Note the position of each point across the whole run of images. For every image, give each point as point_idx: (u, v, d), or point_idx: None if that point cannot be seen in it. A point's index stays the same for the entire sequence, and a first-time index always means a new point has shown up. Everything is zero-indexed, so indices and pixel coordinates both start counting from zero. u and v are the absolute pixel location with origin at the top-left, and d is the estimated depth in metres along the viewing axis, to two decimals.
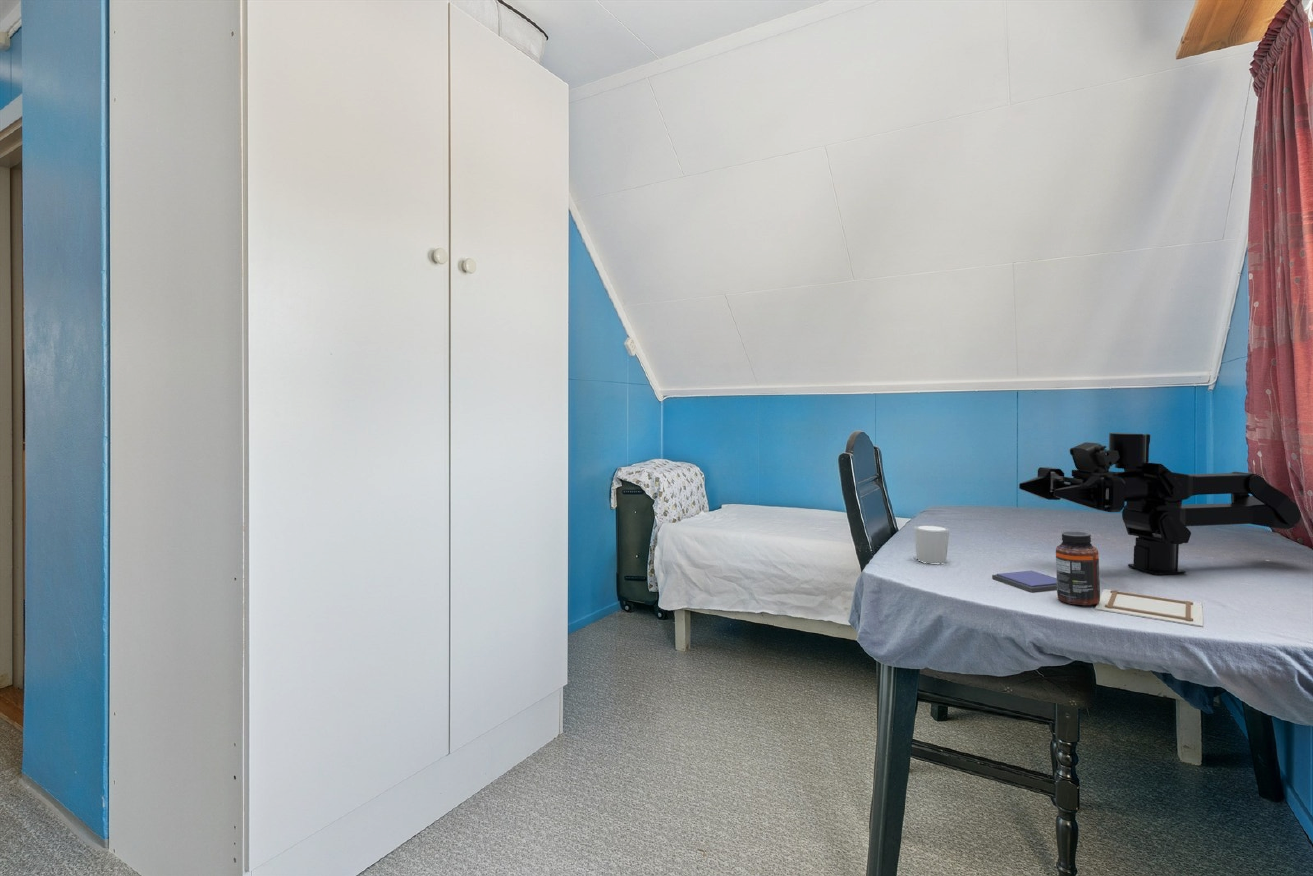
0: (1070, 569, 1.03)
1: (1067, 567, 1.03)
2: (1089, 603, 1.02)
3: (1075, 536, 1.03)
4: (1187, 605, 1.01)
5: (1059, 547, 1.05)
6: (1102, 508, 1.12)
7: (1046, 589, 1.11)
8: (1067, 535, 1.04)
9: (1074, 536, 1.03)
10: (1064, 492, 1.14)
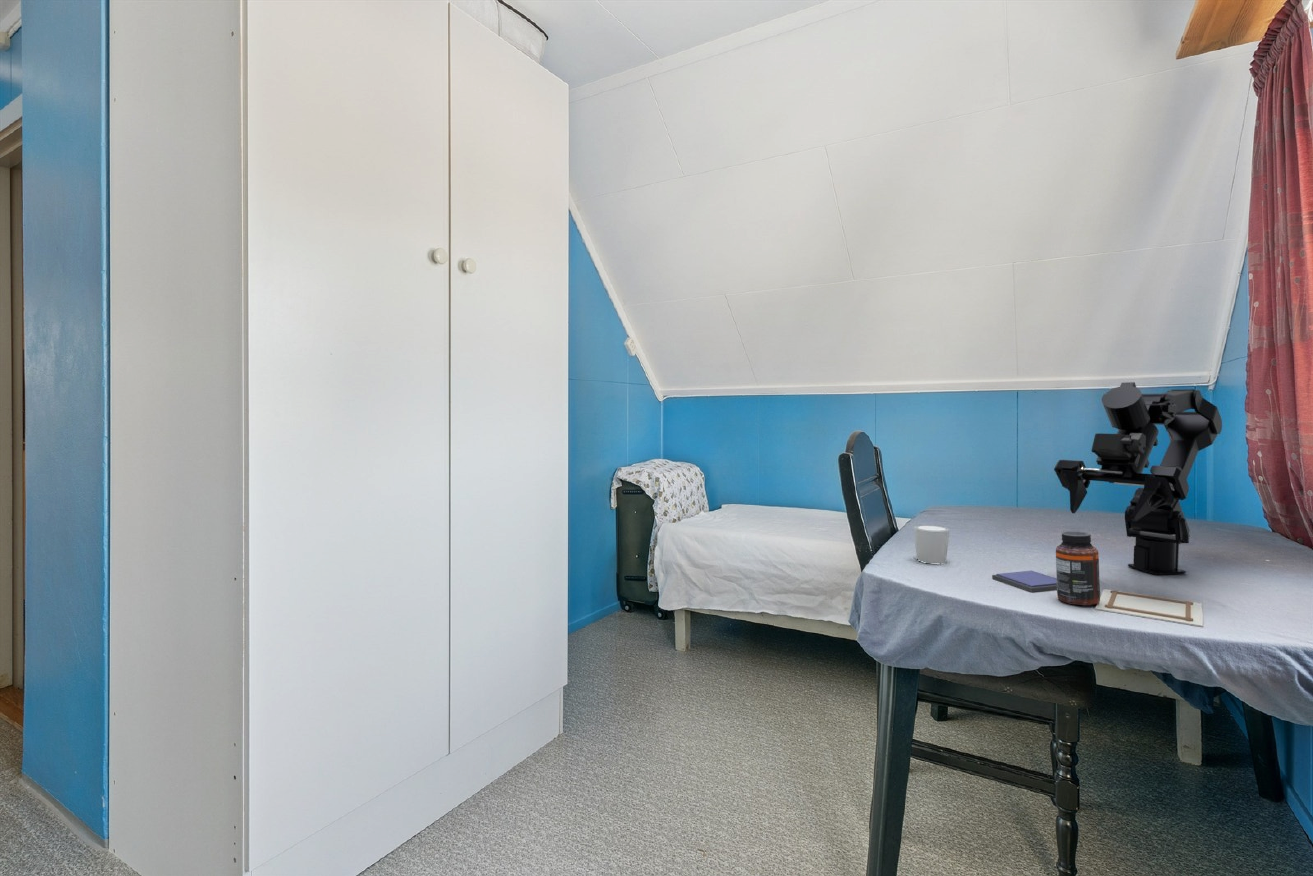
0: (1070, 569, 1.03)
1: (1067, 567, 1.03)
2: (1089, 603, 1.02)
3: (1075, 536, 1.03)
4: (1187, 605, 1.01)
5: (1059, 547, 1.05)
6: (1174, 500, 1.05)
7: (1046, 589, 1.11)
8: (1067, 535, 1.04)
9: (1074, 536, 1.03)
10: (1140, 512, 1.04)
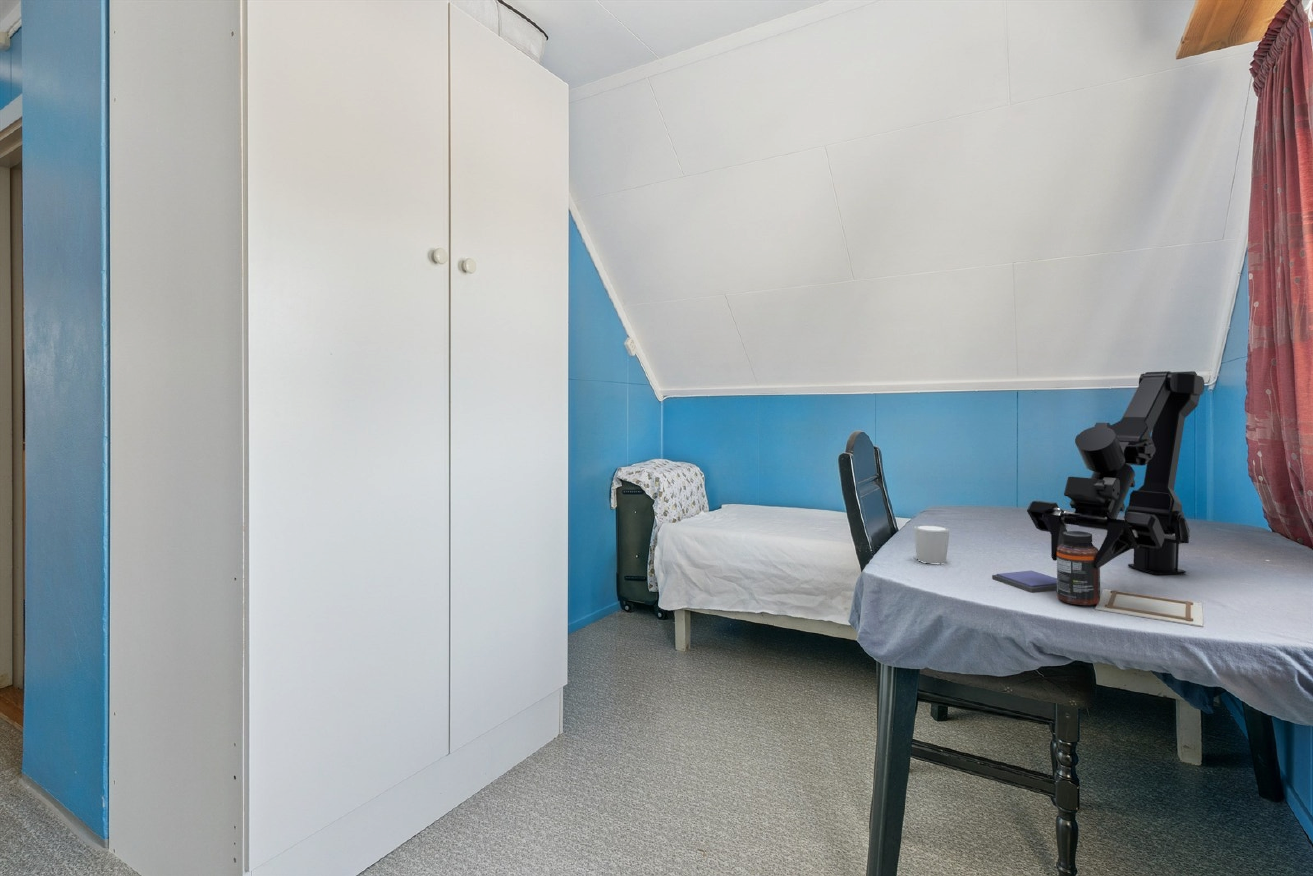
0: (1071, 569, 1.03)
1: (1068, 567, 1.03)
2: (1089, 603, 1.02)
3: (1076, 536, 1.03)
4: (1187, 605, 1.01)
5: (1060, 547, 1.05)
6: (1137, 547, 1.02)
7: (1046, 589, 1.11)
8: (1068, 535, 1.04)
9: (1075, 536, 1.03)
10: (1102, 559, 1.01)
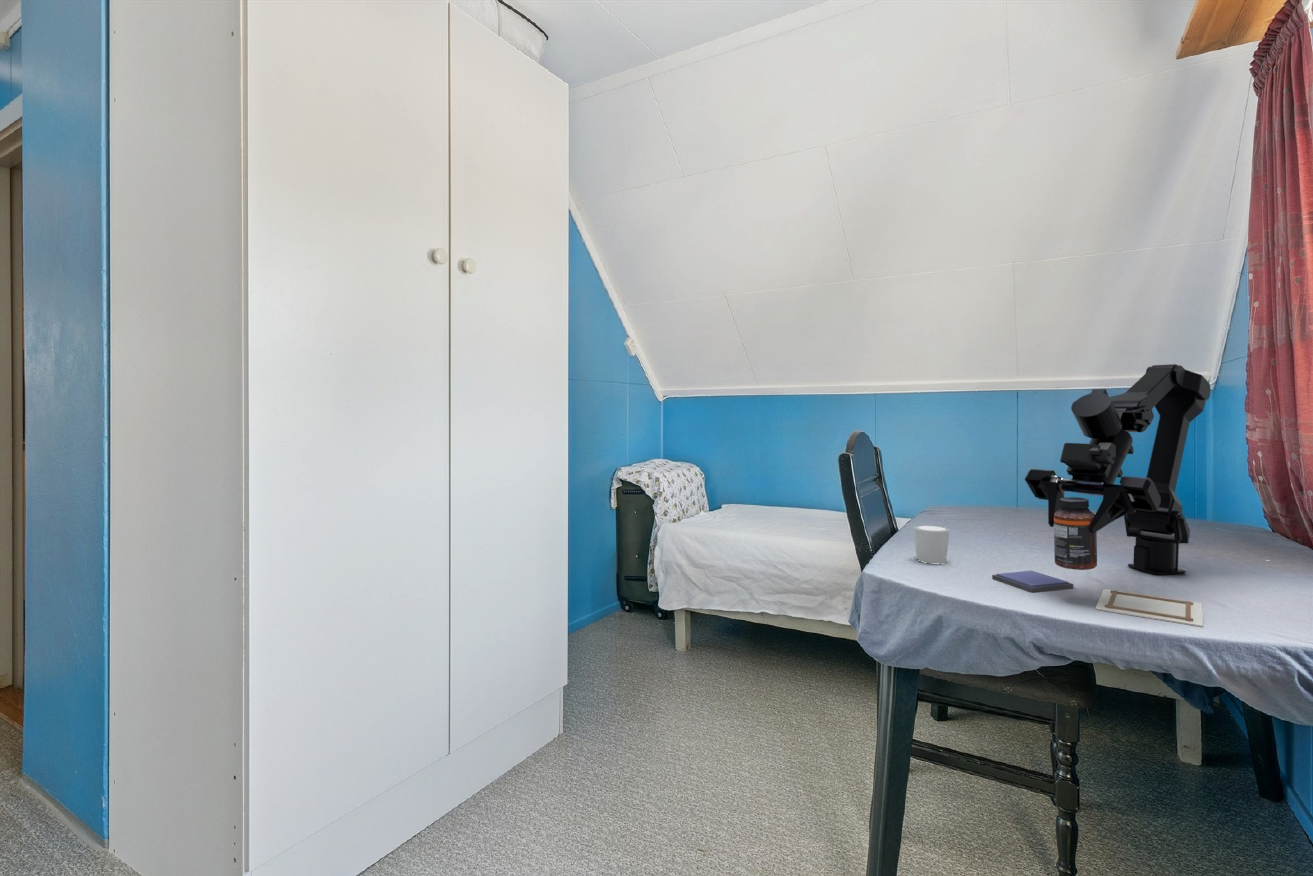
0: (1067, 534, 1.03)
1: (1064, 532, 1.04)
2: (1086, 567, 1.03)
3: (1073, 501, 1.03)
4: (1187, 605, 1.01)
5: (1057, 513, 1.06)
6: (1134, 511, 1.02)
7: (1046, 589, 1.11)
8: (1065, 500, 1.04)
9: (1072, 501, 1.03)
10: (1098, 524, 1.02)
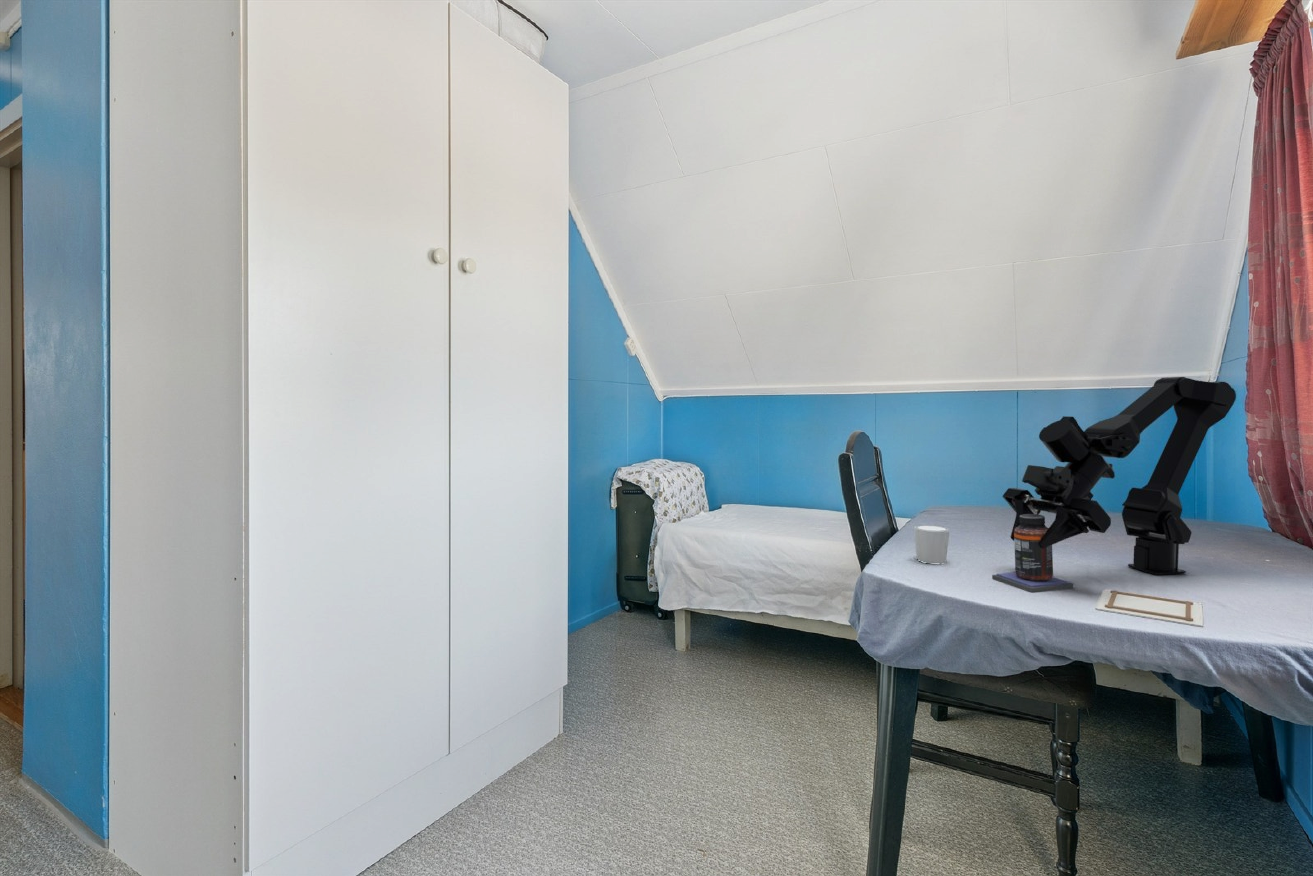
0: (1020, 547, 1.14)
1: (1018, 545, 1.15)
2: (1037, 579, 1.13)
3: (1026, 518, 1.14)
4: (1187, 605, 1.01)
5: (1016, 527, 1.16)
6: (1087, 531, 1.10)
7: (1046, 589, 1.11)
8: (1021, 517, 1.15)
9: (1026, 518, 1.14)
10: (1047, 540, 1.11)
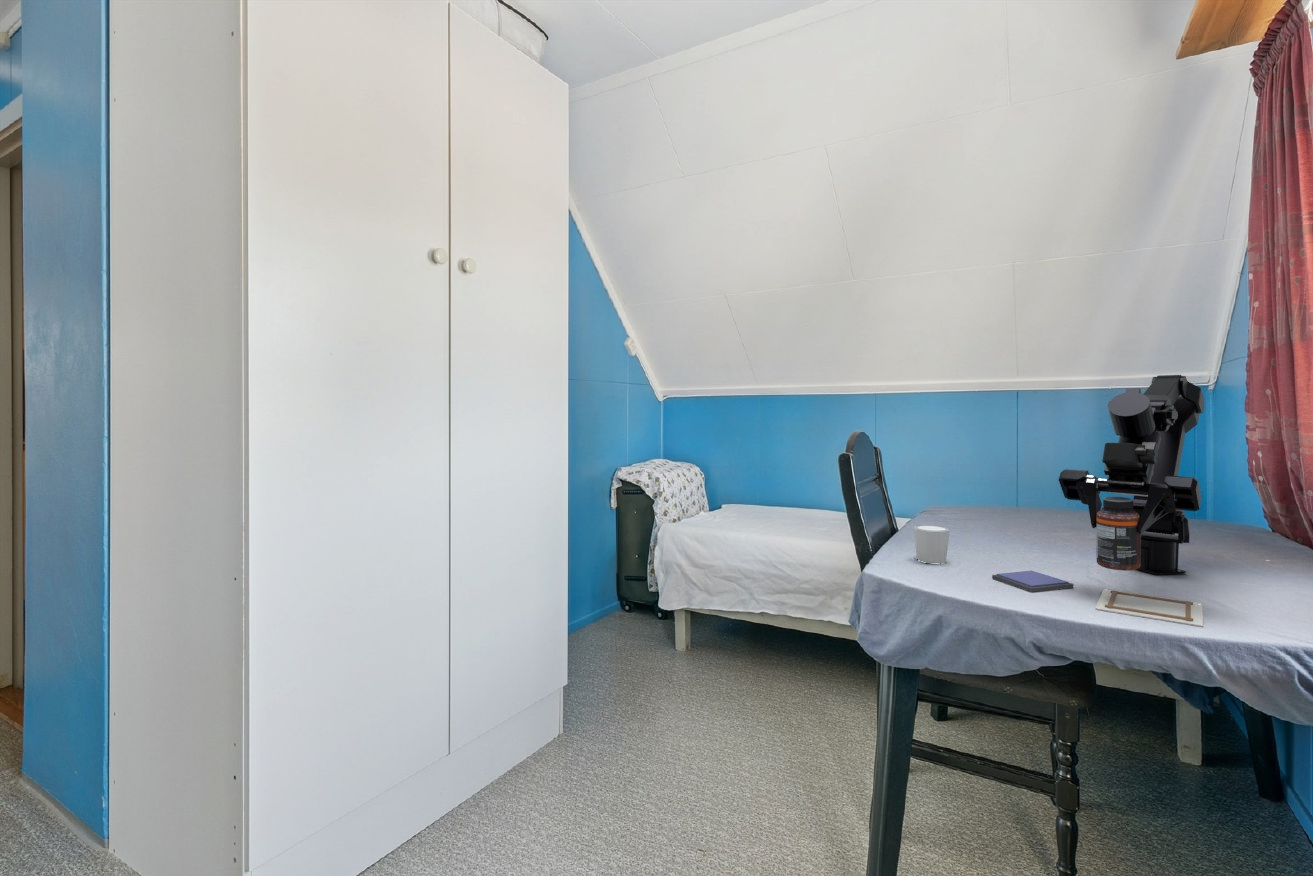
0: (1115, 535, 1.02)
1: (1111, 533, 1.02)
2: (1132, 568, 1.02)
3: (1120, 502, 1.02)
4: (1187, 605, 1.01)
5: (1101, 513, 1.04)
6: (1175, 511, 1.02)
7: (1046, 589, 1.11)
8: (1111, 501, 1.03)
9: (1119, 502, 1.02)
10: (1145, 524, 1.01)
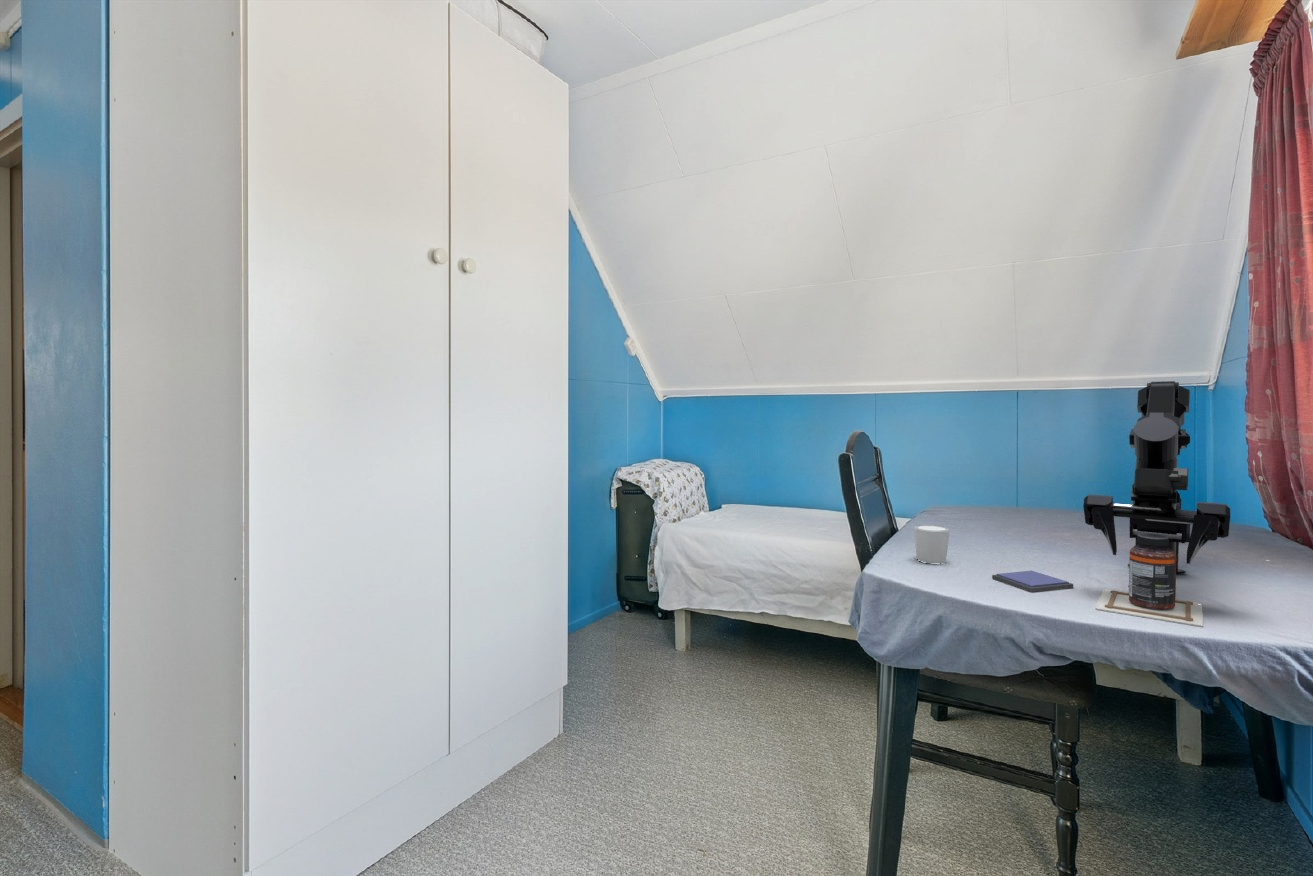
0: (1153, 573, 0.99)
1: (1150, 571, 1.00)
2: (1170, 607, 0.99)
3: (1158, 539, 1.00)
4: (1187, 605, 1.01)
5: (1138, 550, 1.01)
6: (1216, 539, 1.00)
7: (1046, 589, 1.11)
8: (1148, 538, 1.00)
9: (1157, 539, 1.00)
10: (1193, 554, 0.98)
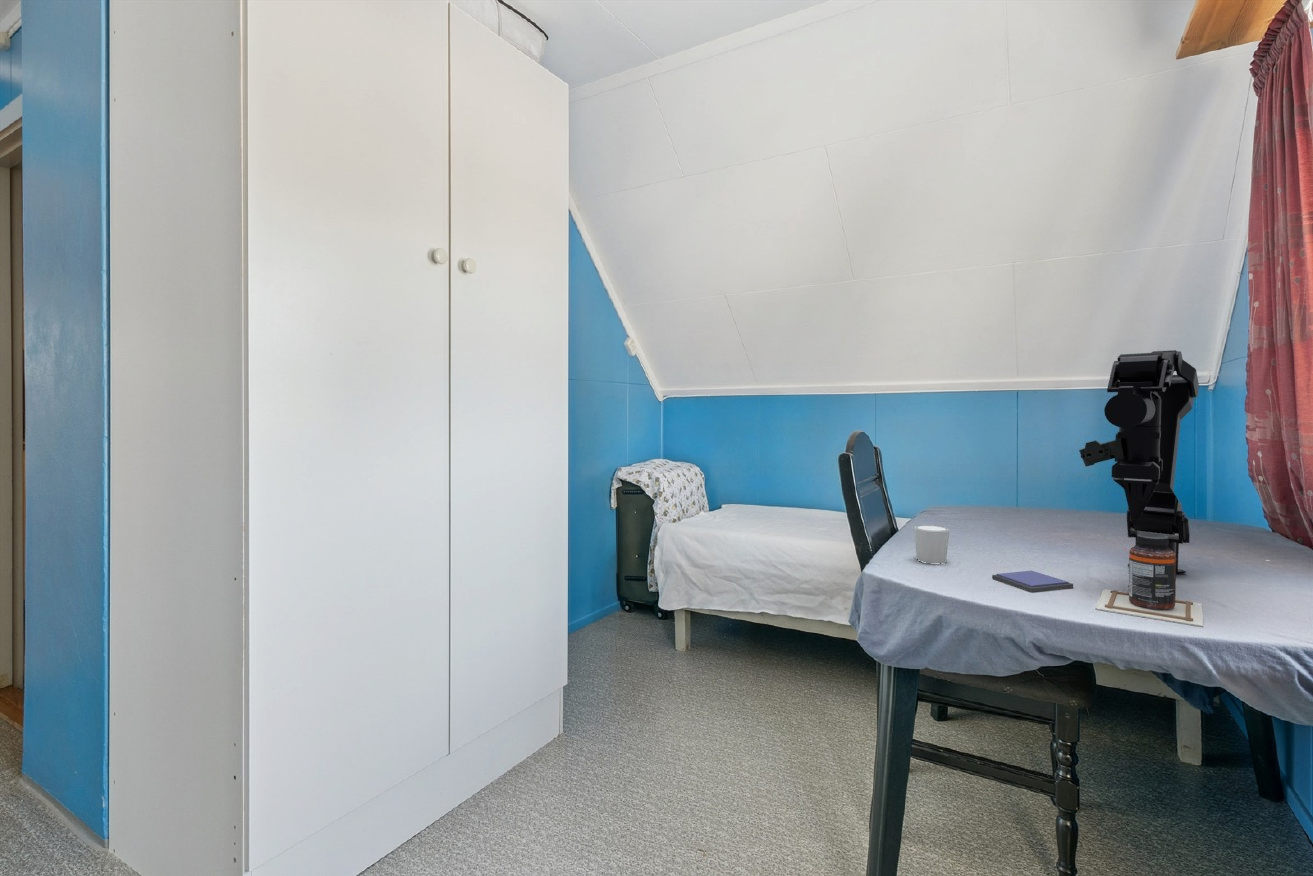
0: (1153, 573, 0.99)
1: (1150, 571, 1.00)
2: (1170, 607, 0.99)
3: (1157, 539, 1.00)
4: (1187, 605, 1.01)
5: (1137, 550, 1.01)
6: (1154, 483, 1.03)
7: (1046, 589, 1.11)
8: (1148, 538, 1.00)
9: (1156, 539, 1.00)
10: (1133, 511, 1.07)
